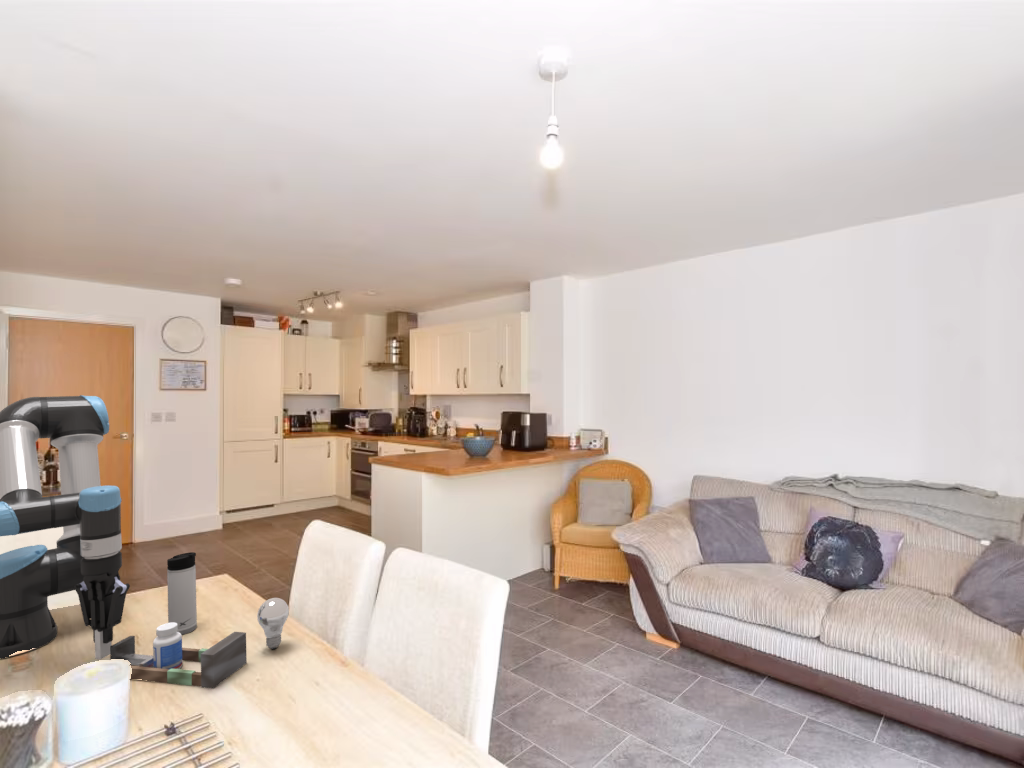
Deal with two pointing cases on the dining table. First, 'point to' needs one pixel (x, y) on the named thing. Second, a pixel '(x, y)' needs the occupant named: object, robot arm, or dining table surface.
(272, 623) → the light bulb
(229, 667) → the frame
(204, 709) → the dining table surface
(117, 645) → the grey u-channel bracket
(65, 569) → the robot arm
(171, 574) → the travel mug
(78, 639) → the dining table surface
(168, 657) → the pill bottle
